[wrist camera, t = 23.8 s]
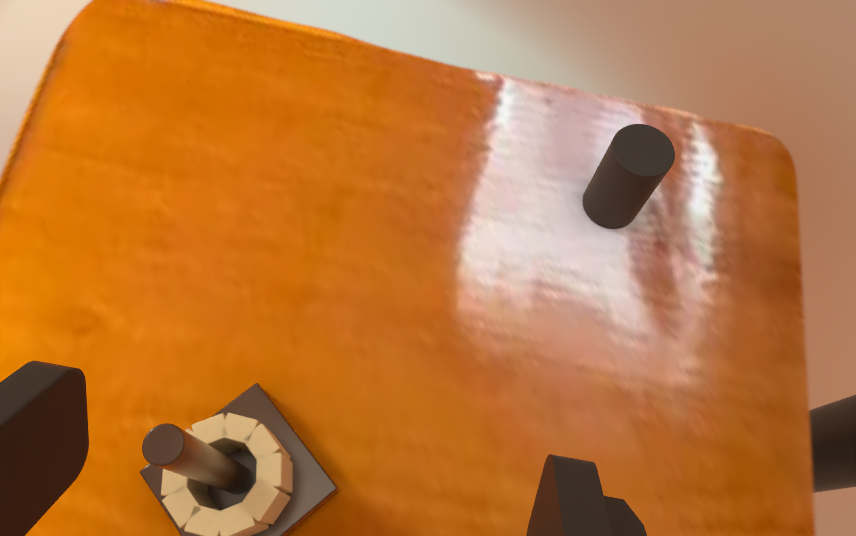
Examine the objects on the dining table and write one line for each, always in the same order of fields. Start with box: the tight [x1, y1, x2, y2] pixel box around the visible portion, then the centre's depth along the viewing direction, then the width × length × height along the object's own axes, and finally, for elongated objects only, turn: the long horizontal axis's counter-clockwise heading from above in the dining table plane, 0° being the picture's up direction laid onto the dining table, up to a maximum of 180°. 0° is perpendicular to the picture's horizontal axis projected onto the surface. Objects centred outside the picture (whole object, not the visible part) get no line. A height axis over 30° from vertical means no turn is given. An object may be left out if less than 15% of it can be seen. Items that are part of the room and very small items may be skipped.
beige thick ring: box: [161, 413, 293, 536], centre depth 34 cm, size 6×6×4 cm
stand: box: [140, 383, 339, 536], centre depth 31 cm, size 8×8×14 cm
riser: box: [583, 124, 675, 228], centre depth 43 cm, size 4×4×7 cm
